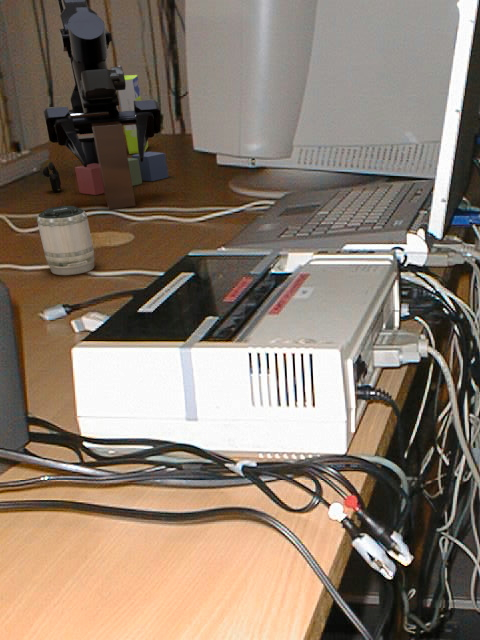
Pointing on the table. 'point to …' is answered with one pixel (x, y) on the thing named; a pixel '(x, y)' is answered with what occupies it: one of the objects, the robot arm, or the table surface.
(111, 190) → the tall block
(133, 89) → the box
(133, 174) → the cube
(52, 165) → the wireless earbuds
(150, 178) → the cube
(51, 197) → the table surface
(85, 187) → the cube
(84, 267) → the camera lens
